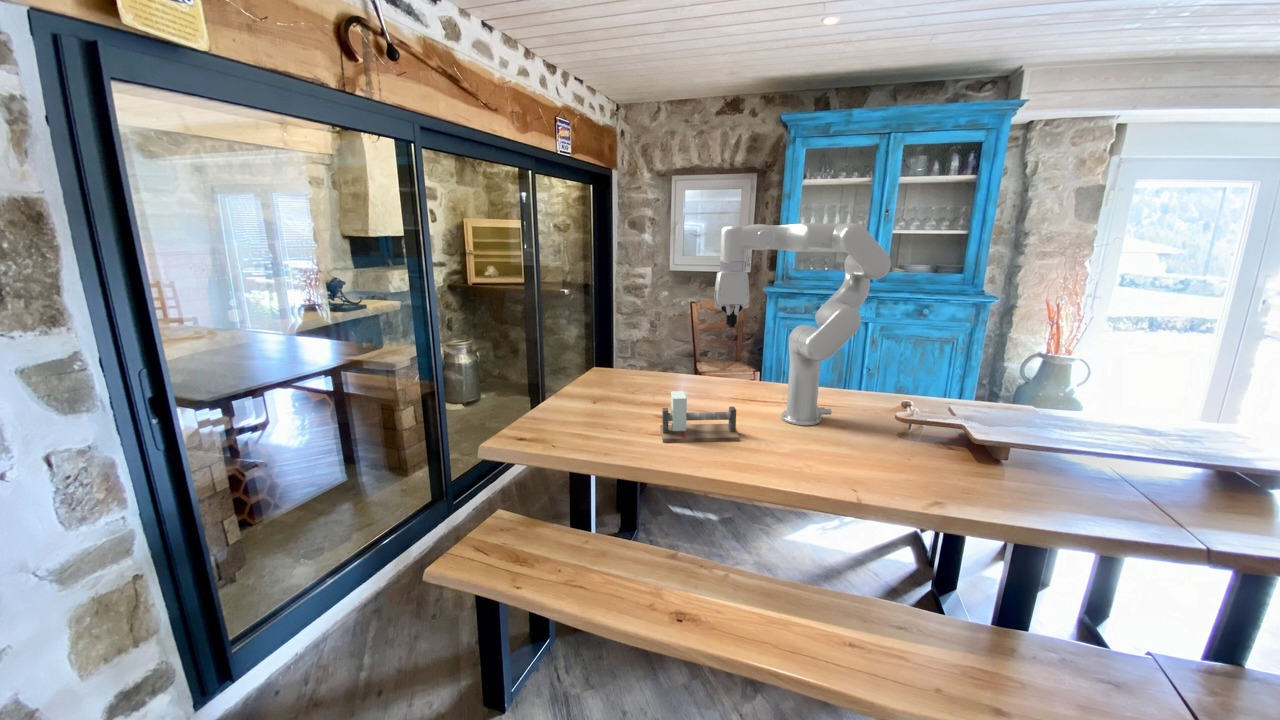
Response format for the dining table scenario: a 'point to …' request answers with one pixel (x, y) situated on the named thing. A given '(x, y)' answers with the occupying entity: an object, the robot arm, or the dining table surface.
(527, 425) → the dining table surface
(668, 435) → the rod stand
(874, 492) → the dining table surface
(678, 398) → the sleeve block
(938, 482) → the dining table surface
